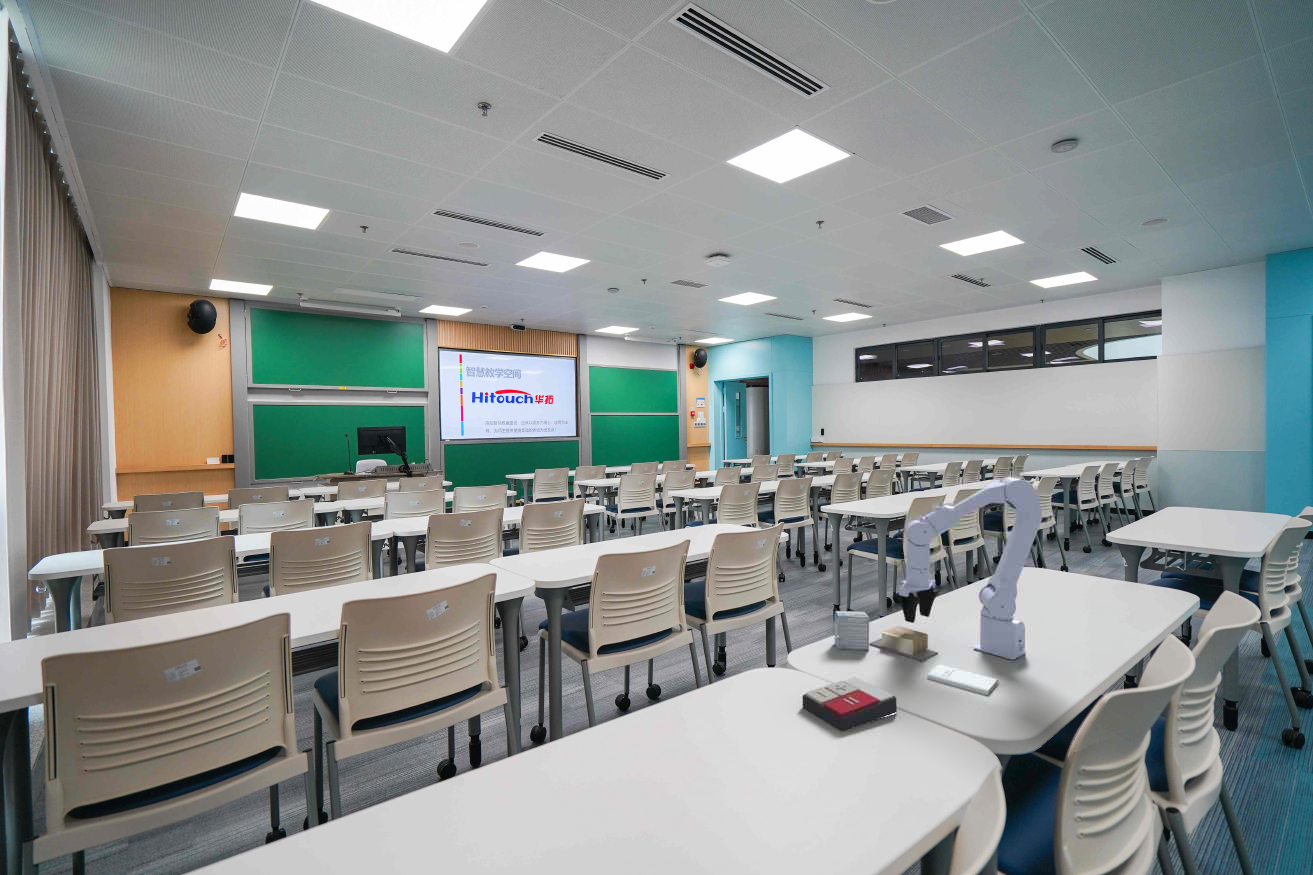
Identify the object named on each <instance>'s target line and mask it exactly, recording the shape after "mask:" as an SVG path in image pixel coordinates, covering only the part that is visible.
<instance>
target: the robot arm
mask: <svg viewBox="0 0 1313 875" xmlns="http://www.w3.org/2000/svg"><path fill="white" fill-rule="evenodd" d="M1039 495H1040V493H1039V492H1038V491H1037V489H1036V487H1034V486H1033V485H1032V483H1031V482H1029V481H1027V480H1024V479H1019V478H1017V477H1014V476H1006V477H1003V478H1001V479H999V480H997V481H994V482H992V483H990V484H989V485H987V486H985V487H983V488H981V489H980V490H978V491H976V492H974V493H973V494H972V495H970V496H968V497H966V498H965V499H963V500H961V501H959V502H957V503H956V504H955V505H953V506H950V505H946V504H944V505H937V506H935V507H934V510H933V511H932V512H930V513H928V514H926V515H924V516H923V515H919V517H918V519H919V520H915V519H914V520H912V521H909V522H908V524H907V525H906V526H905V529H904V534H905V537H906V538H907V540H906V550H905V553H906V555H905V556H906V557H905V563H906V564H905V580H902V581H901V584H902V586H900V587H899V589H898V590H899V591H898V592H896V598H897V600H898V602H899V603H900V606H901V610H902V613H903V617H904V620H905V622H908V623H911V624H914V623H915V621H916V617H917V616H916V615H917V614H916V613H917V610H918V609H919V613H920V614H919V615H920V616H922V617H927V618H929V617H930V614H931V611H932V608H933V605H934V602H935V599H936V598H937V596H938V595H939V589H937V588H936V579H931V575H930V574H931V550H930V543H931V542H932V541H933V537H937V536H939V535H941V534H943V533H945V532H946V531H948V530H950V529H953V528H955V527H956V526H958V525H959V523H960V519H961V517H964V516H966V515H969V514H971V513H973V512H974V511H976V510H979V509H981V508H982V507H985V506H987V505H989V504H1007V505H1008V506H1009V508H1010V509H1011V511H1012V512H1013V514H1014V516H1015V517H1016V519H1015V521H1014V524H1013V526H1012V528H1011V531H1010V534H1009V537H1008V539H1007V541H1006V544H1005V546H1004V550H1003V551H1002V554H1001V557H1000V560H999V562H998V565H997V567H996V570H995V571H994V574H992V575H991V576H990V577H989V579H988V581H987V583H986V584H985V585H984V586H983V587H982V588H981V589H980V591H979V593H978V599H979V602H980V604H981V605H983V607H982V609H981V610H980V619H979V620H980V626H979V627H980V628H979V630H980V633H979V634H980V635H979V640H980V641H979V643H977V644H976V645H973V649H974V650H977V651H980V652H984V653H988V654H992V655H994V656H998V657H1002V658H1005V659H1009V660H1011V661H1012V660H1016V659H1017V658H1019V657H1021V656H1022V655H1025V654H1026V653H1027V651H1026V625H1025V624H1024V622H1023V621H1021V620H1018V619H1016V618H1015V617H1014V614H1015V612H1016V611H1017V604H1016V599H1017V596H1018V588H1017V587H1018V586H1017V585H1018V581H1019V578H1020V575H1021V573H1022V571H1023V569H1024V566H1025V564H1026V560H1027V558H1028V556H1029V553H1030V552H1031V549H1032V546H1033V543H1034V541H1035V538H1036V536H1037V533H1038V531H1039V529H1040V526H1041V524H1042V521H1043V514H1042V508H1041V505H1040V501H1039V497H1040V496H1039ZM914 593H916V595H917V596H915V595H914ZM918 607H919V608H918ZM917 608H918V609H917Z"/></svg>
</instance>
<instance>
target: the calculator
mask: <svg viewBox="0 0 1313 875" xmlns="http://www.w3.org/2000/svg"><path fill="white" fill-rule="evenodd" d="M802 709H804V710H806V712H809V713H811V714H812V715H814V716H815V717H817V718H818V719H820V720H822V721H823V722H824V723H827V724H828V725H830V726H832V728H835V729H837V730H838V731H839V732H842V731H843V732H846V731H845V730H847V731H849V730H848V729H850V730H852V729H851V728H853V727H856V726H859V725H862V724H865V723H867V722H870V721H872V720H875V721H877V720H876V719H878V718H880V719H881V717H884V716H886V715H890V714H892V713H895V712H898V711H897V697H896V696H894V695H893V694H892V693H890V692H887V691H885V690H883V689H881V688H879V687H877V686H875V685H873V684H871V683H869V682H867V681H865V680H863V679H861V678H859V677H857V676H853V677H850V678H847V679H844V680H838V681H836V682H832V683H830V684H828V685H827V684H826V685H825V686H824V687H823V686H822V687H818V688H816V689H812V690H809V691H806V692H805V694H803V695H802ZM878 720H879V719H878ZM870 723H871V722H870ZM867 724H868V723H867ZM865 725H866V724H865ZM862 726H863V725H862ZM859 727H860V726H859ZM856 728H857V727H856ZM853 729H854V728H853Z"/></svg>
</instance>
